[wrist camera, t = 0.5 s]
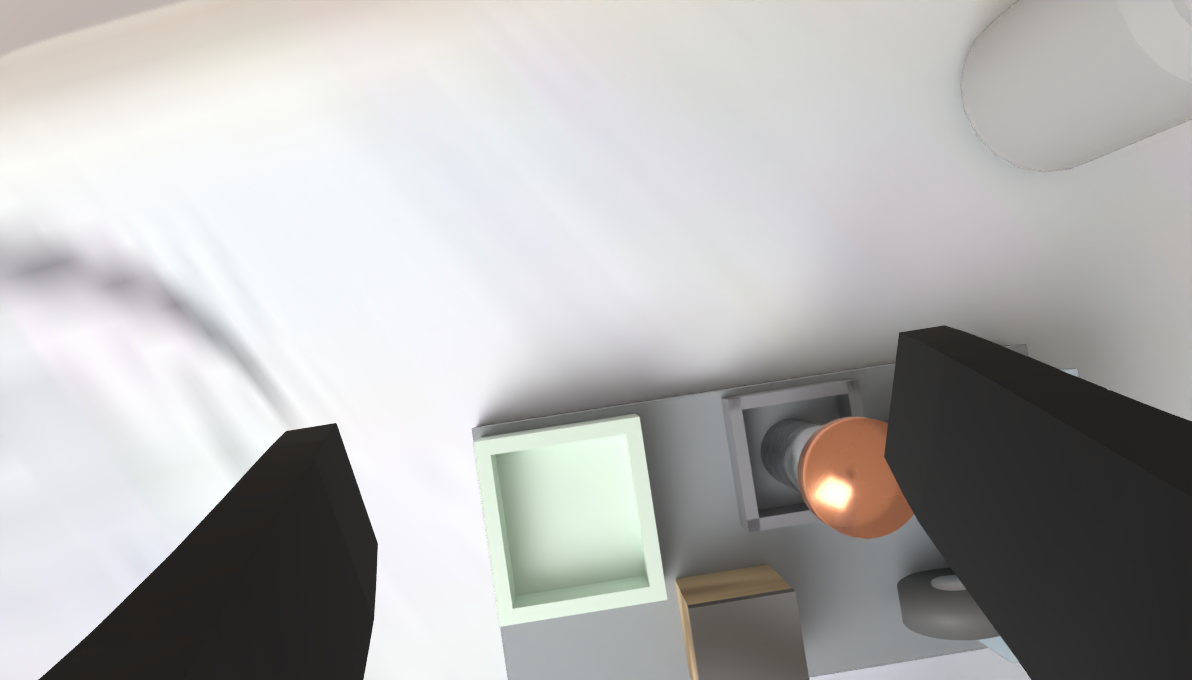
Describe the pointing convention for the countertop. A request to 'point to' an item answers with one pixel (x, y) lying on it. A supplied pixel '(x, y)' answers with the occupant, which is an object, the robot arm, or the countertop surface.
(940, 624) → the trolley
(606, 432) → the tray
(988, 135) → the can
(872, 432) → the pin
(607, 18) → the countertop surface
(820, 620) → the ramp board
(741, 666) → the wooden cube
